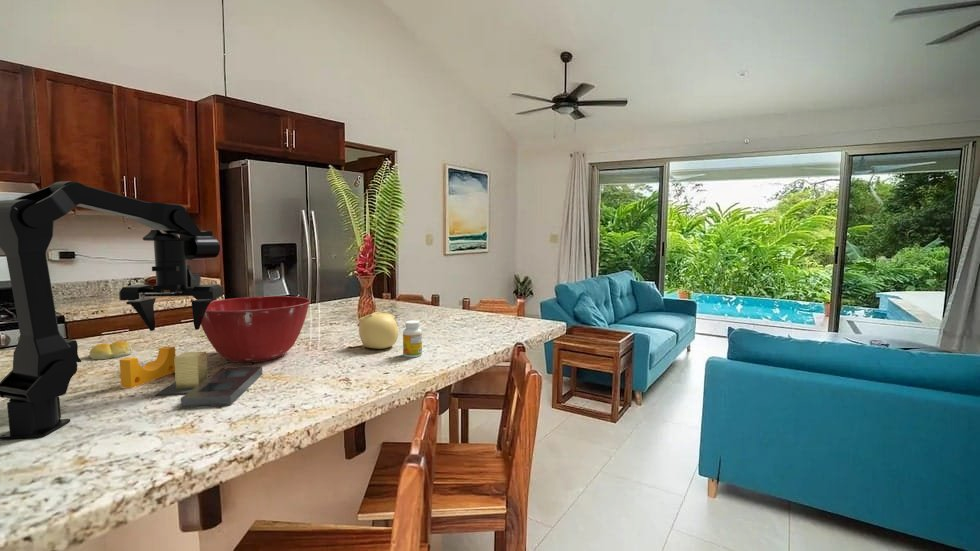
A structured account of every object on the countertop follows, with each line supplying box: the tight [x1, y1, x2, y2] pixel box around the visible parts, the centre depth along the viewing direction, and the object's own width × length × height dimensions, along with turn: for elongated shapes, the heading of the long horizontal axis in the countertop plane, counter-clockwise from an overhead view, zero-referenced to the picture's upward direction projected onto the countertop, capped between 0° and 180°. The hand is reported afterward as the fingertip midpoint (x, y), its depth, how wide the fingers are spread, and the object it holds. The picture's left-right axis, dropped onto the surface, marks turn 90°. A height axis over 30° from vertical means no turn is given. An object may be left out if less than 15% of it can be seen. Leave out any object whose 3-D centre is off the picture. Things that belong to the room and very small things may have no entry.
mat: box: [154, 380, 194, 397], centre depth 100 cm, size 10×10×1 cm
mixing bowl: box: [200, 295, 311, 364], centre depth 124 cm, size 28×28×15 cm
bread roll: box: [89, 340, 133, 360], centre depth 123 cm, size 8×9×4 cm
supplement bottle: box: [402, 320, 423, 358], centre depth 127 cm, size 5×5×10 cm
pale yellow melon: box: [358, 311, 399, 349], centre depth 136 cm, size 12×12×11 cm
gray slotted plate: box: [180, 365, 263, 409], centre depth 98 cm, size 20×9×2 cm, turn 11°
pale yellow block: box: [174, 351, 209, 389], centre depth 99 cm, size 4×4×7 cm
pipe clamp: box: [118, 346, 176, 389], centre depth 104 cm, size 12×4×6 cm, turn 173°
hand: (175, 330), depth 100 cm, fingers open, 9 cm apart
